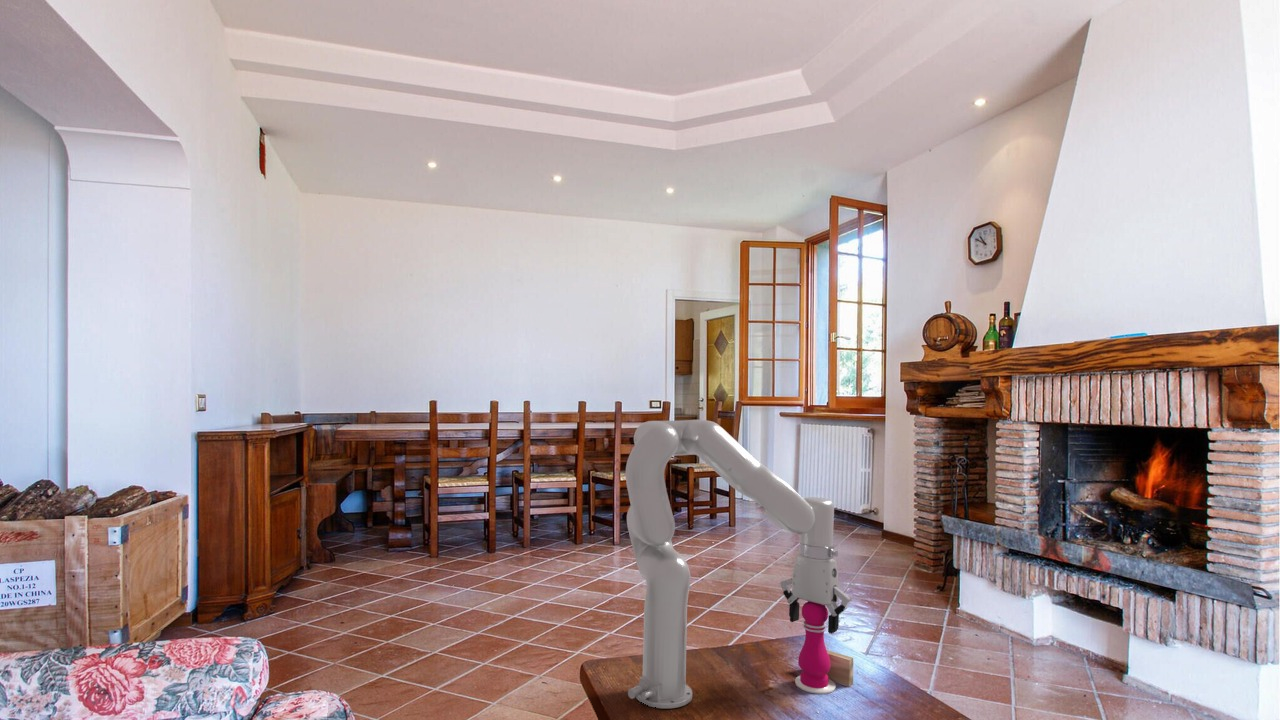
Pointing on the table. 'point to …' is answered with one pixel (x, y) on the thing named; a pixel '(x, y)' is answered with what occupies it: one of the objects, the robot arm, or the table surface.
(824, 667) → the pepper mill
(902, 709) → the table surface
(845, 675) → the oak rail
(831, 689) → the coaster
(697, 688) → the table surface
